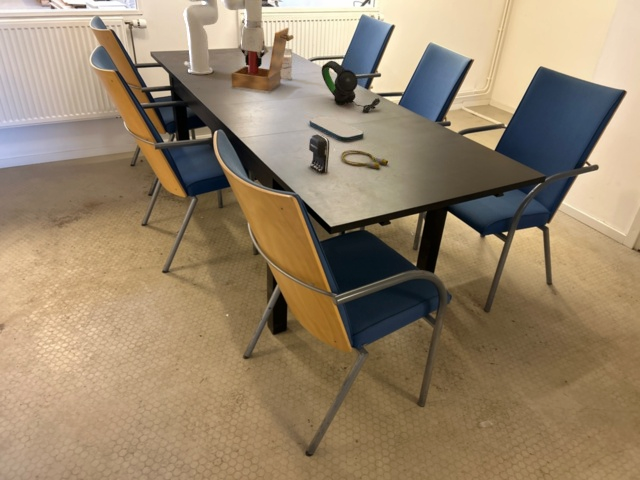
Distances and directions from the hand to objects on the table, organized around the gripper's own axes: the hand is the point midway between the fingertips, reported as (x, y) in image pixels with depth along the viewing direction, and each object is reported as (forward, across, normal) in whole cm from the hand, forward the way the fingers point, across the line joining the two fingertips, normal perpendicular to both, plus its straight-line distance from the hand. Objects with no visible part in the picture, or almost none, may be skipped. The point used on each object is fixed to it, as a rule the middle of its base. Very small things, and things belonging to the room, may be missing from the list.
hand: (253, 65), depth 232 cm
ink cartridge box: (+11, +7, +21) cm, 25 cm away
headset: (+10, +48, -7) cm, 50 cm away
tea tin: (+3, 0, 0) cm, 3 cm away
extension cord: (+9, +68, -67) cm, 96 cm away
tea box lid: (-7, +11, +2) cm, 13 cm away
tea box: (+10, +1, +2) cm, 11 cm away
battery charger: (+9, +56, -80) cm, 98 cm away
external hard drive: (+9, +52, -42) cm, 68 cm away
